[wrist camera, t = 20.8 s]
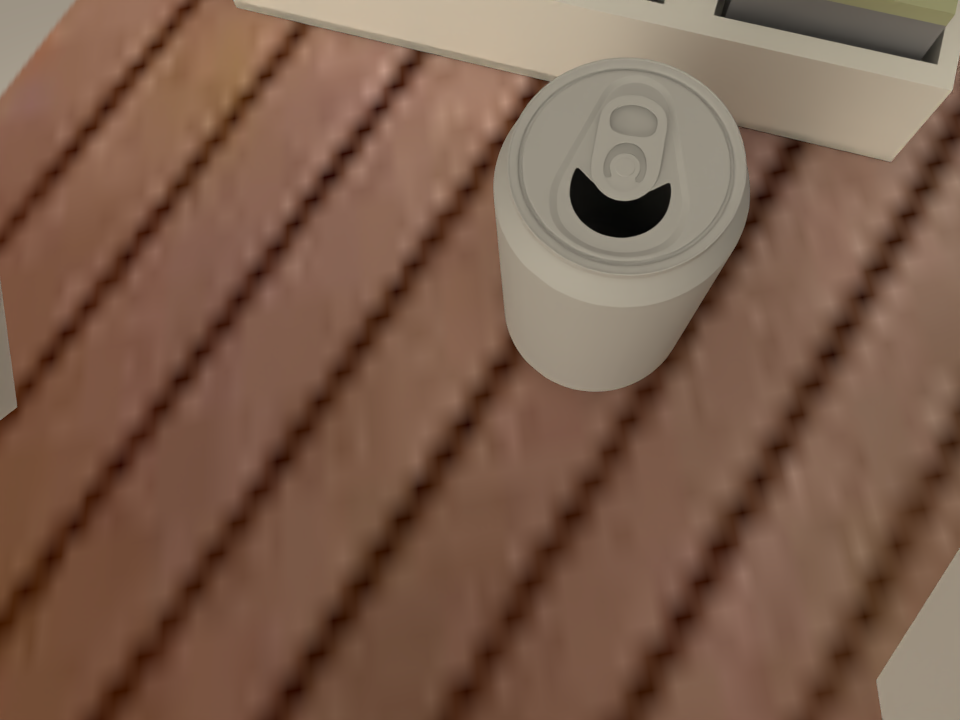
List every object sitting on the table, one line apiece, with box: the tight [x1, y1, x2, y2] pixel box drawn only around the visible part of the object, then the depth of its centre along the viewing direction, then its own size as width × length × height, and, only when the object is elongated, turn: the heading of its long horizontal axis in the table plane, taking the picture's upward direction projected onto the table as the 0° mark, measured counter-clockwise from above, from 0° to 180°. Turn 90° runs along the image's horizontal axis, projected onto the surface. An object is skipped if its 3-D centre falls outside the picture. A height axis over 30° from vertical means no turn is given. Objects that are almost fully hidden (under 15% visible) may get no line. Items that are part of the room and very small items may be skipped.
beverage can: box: [493, 57, 750, 392], centre depth 27 cm, size 6×6×12 cm
